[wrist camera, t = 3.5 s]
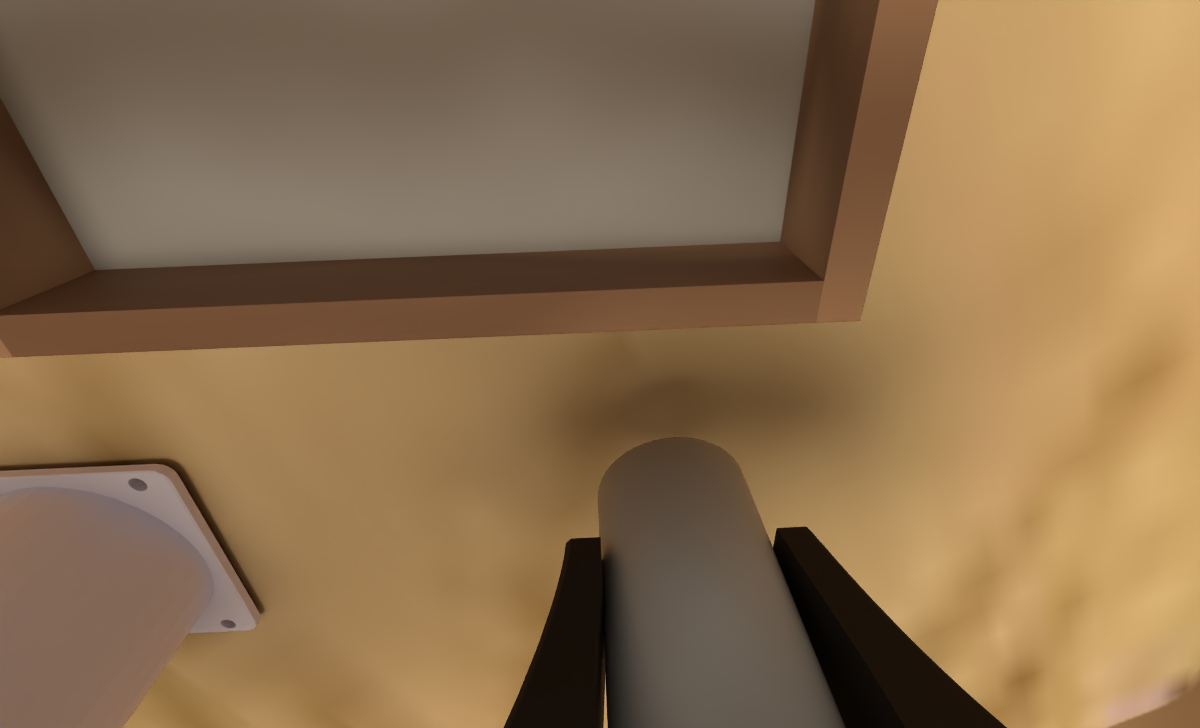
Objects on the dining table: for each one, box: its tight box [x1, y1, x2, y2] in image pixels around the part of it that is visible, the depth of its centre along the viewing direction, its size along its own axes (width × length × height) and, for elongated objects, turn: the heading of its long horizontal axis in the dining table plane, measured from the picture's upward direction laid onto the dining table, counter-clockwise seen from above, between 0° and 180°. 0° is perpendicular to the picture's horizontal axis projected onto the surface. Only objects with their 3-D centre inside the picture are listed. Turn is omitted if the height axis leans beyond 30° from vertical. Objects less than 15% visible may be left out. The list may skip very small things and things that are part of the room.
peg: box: [598, 437, 846, 728], centre depth 10 cm, size 4×4×7 cm
